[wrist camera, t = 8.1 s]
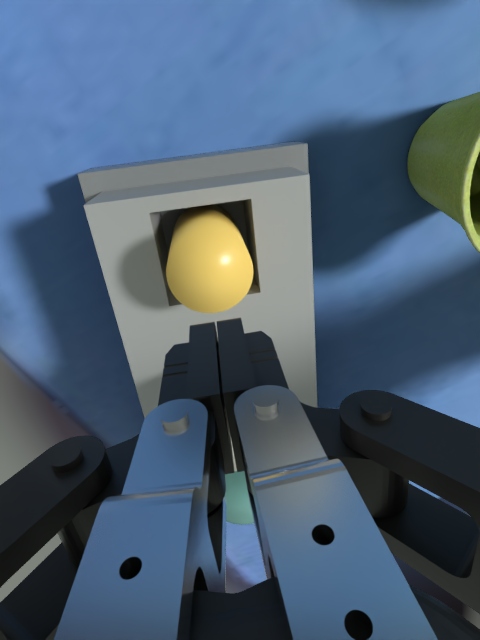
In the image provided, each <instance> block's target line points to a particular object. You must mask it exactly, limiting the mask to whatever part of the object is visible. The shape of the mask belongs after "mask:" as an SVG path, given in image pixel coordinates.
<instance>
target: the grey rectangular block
mask: <svg viewBox="0 0 480 640" xmlns="http://www.w3.org/2000/svg"><path fill="white" fill-rule="evenodd" d="M78 178H79V181H80V185H81V188H82V192H83V195H84V199H85V202H86V204H84V209H85V212H86V216H87V219H88V223H89V226H90V230H91V233H92V237H93V240H94V244H95V247H96V251H97V254H98V258H99V261H100V265H101V268H102V272H103V275H104V279H105V282H106V285H107V289H108V292H109V296H110V299H111V303H112V306H113V310H114V313H115V317H116V320H117V324H118V327H119V331H120V334H121V338H122V341H123V345H124V348H125V352H126V355H127V359H128V362H129V365H130V369H131V372H132V376H133V379H134V383H135V386H136V390H137V393H138V397H139V400H140V404H141V407H142V411H143V414H144V418H146V416H147V415H148V414H149V413H150V412H151V411H152V410H153V409H155V408H156V407H158V402H159V395H160V388H161V382H162V377H163V368H164V362H165V355H166V354H167V353H168V351H169V350H170V349H171V348H172V347H173V345H175V344H181V343H188V342H189V330H190V325H196V324H202V323H209V322H215V326H216V331H217V321H221V320H227V319H234V318H240V317H241V320H242V325H243V329H244V333H251V332H257V331H262V332H264V333H265V334H266V335H268V336H269V337H270V338H272V341H273V344H274V347H275V350H276V353H277V356H278V359H279V361H280V364H281V367H282V370H283V373H284V376H285V379H286V382H287V384H288V387H289V390H291V391H292V392H293V393H294V394H295V395H296V396H297V398H298V400H299V401H300V402H302V403H304V404H306V405H309V406H312V407H316V408H317V379H316V350H315V320H314V291H313V261H312V231H311V202H310V174H309V169H308V143H302V142H295V141H294V142H286V143H278V144H271V145H263V146H256V147H248V148H241V149H233V150H226V151H218V152H210V153H203V154H195V155H188V156H180V157H173V158H165V159H158V160H150V161H142V162H135V163H127V164H120V165H112V166H105V167H97V168H91V169H88V170H86V171H83V172H81V173H79V174H78ZM210 204H213V205H216V206H219V207H221V208H223V209H224V210H226V211H227V212H228V213H229V214H230V215H231V216H232V217H233V219H234V220H235V222H236V225H237V227H238V229H239V231H240V234H241V236H242V238H243V241H244V243H245V245H246V248H247V250H248V252H249V254H250V257H251V260H252V263H253V280H252V284H251V286H250V289H249V291H248V293H247V294H246V295H245V297H244V298H243V299H242V300H241V301H240V302H239V303H238V304H237V305H235V306H233V307H232V308H230V309H228V310H225V311H222V312H218V313H202V312H197V311H194V310H192V309H189V308H188V307H186V306H184V305H183V304H182V303H180V302H179V301H178V300H177V299H176V297H175V296H174V295H173V293H172V292H171V290H170V288H169V285H168V282H167V277H166V267H167V261H168V256H169V251H170V245H171V240H172V235H173V230H174V226H175V223H176V221H177V219H178V218H179V216H180V215H181V214H182V213H183V212H184V211H185V210H187V209H188V208H190V207H196V206H203V205H210ZM217 337H218V332H217Z"/></svg>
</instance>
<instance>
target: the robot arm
mask: <svg viewBox="0 0 480 640" xmlns="http://www.w3.org/2000/svg"><path fill="white" fill-rule="evenodd" d="M217 332H218V337H217ZM231 440H232V444H231ZM232 446H233V451H234V457H235V462H236V468H237V472H242V471H244V472H245V478H246V484H247V490H248V496H249V501H250V506H251V510H252V515H253V519H254V524H255V528H256V533H257V537H258V541H259V546H260V550H261V555H262V559H263V563H264V568H265V572H266V577H267V580H265V581H263V582H261V583H259V584H257V585H255V586H253V587H251V588H249V589H246V590H244V591H242V592H239V593H235V594H230V593H226V583H225V575H226V509H227V505H226V498H225V492H226V481H225V474H231V473H234V463H233V453H232ZM409 480H410V481H412V482H414V483H415V484H417V485H419V486H421V487H423V488H425V489H427V490H429V491H430V492H432V493H434V494H436V495H438V496H440V497H442V498H443V499H445V500H447V501H449V502H451V503H453V504H455V505H457V506H458V507H460V508H462V509H463V510H464V511H466V512H467V513H468V514H469V515H470V516H471V517H470V516H468V515H466V514H465V513H463V512H461V511H459V510H457V509H455V508H453V507H452V506H450V505H448V504H446V503H444V502H442V501H441V500H439V499H437V498H435V497H433V496H431V495H430V494H428V493H426V492H424V491H422V490H420V489H418V488H417V487H415V486H413V485H411V484H409ZM57 533H58V535H59V537H60V539H61V541H62V543H61V544H60V545H59V546H58V547H57V548H56V549H55V550H54V551H53V552H52V553H51V554H50V555H49V556H48V557H47V558H46V559H45V560H44V561H42V563H41V564H40V565H38V566H37V567H36V568H35V569H34V570H33V571H32V572H31V573H30V574H29V575H28V576H27V577H26V578H25V579H24V580H23V581H22V582H21V583H20V584H19V585H18V586H17V587H16V588H15V589H14V590H13V591H12V592H11V593H10V594H9V595H8V596H7V597H6V598H5V599H4V600H3V601H1V602H0V640H480V629H478V628H477V627H476V626H474V625H473V624H472V623H470V622H469V621H467V620H466V619H465V618H464V617H462V616H461V615H460V614H458V613H457V612H456V611H454V610H453V609H451V608H450V607H449V606H447V605H446V604H444V603H442V602H441V601H439V600H437V599H436V598H434V597H432V596H431V595H429V594H427V593H425V592H423V591H421V590H419V589H417V588H415V587H412V586H410V585H408V584H407V581H406V579H405V578H404V576H403V574H402V572H401V570H400V568H399V566H398V565H397V563H396V561H395V559H394V557H393V555H395V556H396V557H398V558H400V559H401V560H402V561H404V562H405V563H407V564H408V565H409V566H411V567H412V568H414V569H415V570H417V571H418V572H420V573H421V574H423V575H424V576H426V577H427V578H428V579H430V580H431V581H433V582H434V583H436V584H437V585H439V586H440V587H441V588H443V589H444V590H446V591H448V592H449V593H450V594H452V595H453V596H455V597H456V598H457V599H459V600H460V601H462V602H463V603H465V604H466V605H468V606H469V607H471V608H472V609H473V610H475V611H476V612H478V613H479V614H480V428H478V427H475V426H473V425H470V424H468V423H465V422H463V421H460V420H458V419H455V418H453V417H450V416H448V415H445V414H442V413H440V412H437V411H435V410H432V409H430V408H427V407H425V406H422V405H420V404H417V403H415V402H412V401H409V400H407V399H404V398H402V397H399V396H397V395H394V394H391V393H388V392H384V391H378V390H365V391H359V392H356V393H353V394H351V395H349V396H348V397H346V398H345V399H344V400H343V401H342V403H341V405H340V409H324V408H316V407H312V406H309V405H306V404H304V403H302V402H300V401H299V400H298V398H297V396H296V395H295V394H294V393H293V392H292V391H291V390H289V387H288V384H287V382H286V379H285V376H284V373H283V370H282V367H281V364H280V361H279V359H278V356H277V353H276V350H275V347H274V344H273V341H272V338H270V337H269V336H268V335H266V334H265V333H264V332H262V331H257V332H251V333H244V329H243V325H242V320H241V317H240V318H234V319H227V320H221V321H217V331H216V326H215V322H209V323H202V324H196V325H190V330H189V342H188V343H181V344H175V345H173V347H172V348H171V349H170V350H169V351H168V353H167V354H166V355H165V362H164V368H163V377H162V382H161V388H160V395H159V402H158V407H156V408H155V409H153V410H152V411H151V412H150V413H149V414H148V415H147V416H146V418H145V419H144V422H143V425H142V428H141V431H140V434H139V435H137V436H135V437H134V438H132V439H130V440H127V441H125V442H122V443H120V444H117V445H115V446H112V447H110V448H107V449H105V447H104V445H103V443H102V442H101V440H99V439H98V438H96V437H93V436H77V437H73V438H69V439H66V440H64V441H62V442H59V443H58V444H56V445H54V446H52V447H51V448H49V449H48V450H47V451H45V452H44V453H43V454H41V455H40V456H39V457H37V458H36V459H35V460H33V461H32V462H31V463H29V464H28V465H27V466H25V467H24V468H23V469H21V470H20V471H19V472H18V473H16V474H15V475H14V476H12V477H11V478H10V479H8V480H7V481H6V482H4V483H3V484H2V485H0V587H1V586H2V585H3V584H4V583H5V582H6V581H7V580H8V579H9V578H10V577H11V576H12V575H13V574H15V573H16V572H17V571H18V570H19V569H20V568H21V567H22V566H23V565H24V564H25V563H26V562H27V561H28V560H29V559H30V558H31V557H32V556H34V555H35V554H36V553H37V552H38V551H39V550H40V549H41V548H42V547H43V546H44V545H45V544H46V543H47V542H48V541H49V540H50V539H51V538H53V537H54V536H55V535H56V534H57ZM392 554H393V555H392Z"/></svg>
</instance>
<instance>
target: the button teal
mask: <svg viewBox="0 0 480 640" xmlns="http://www.w3.org/2000/svg"><path fill="white" fill-rule="evenodd" d="M225 481H226V492H225V498H226V505H227V509H226V521H227V522H230V523H233V524H241V525H243V524H252V523H254V519H253V515H252V510H251V506H250V501H249V496H248V490H247V484H246V478H245V472H244V471H242V472H237V471H234V473H231V474H225Z"/></svg>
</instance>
